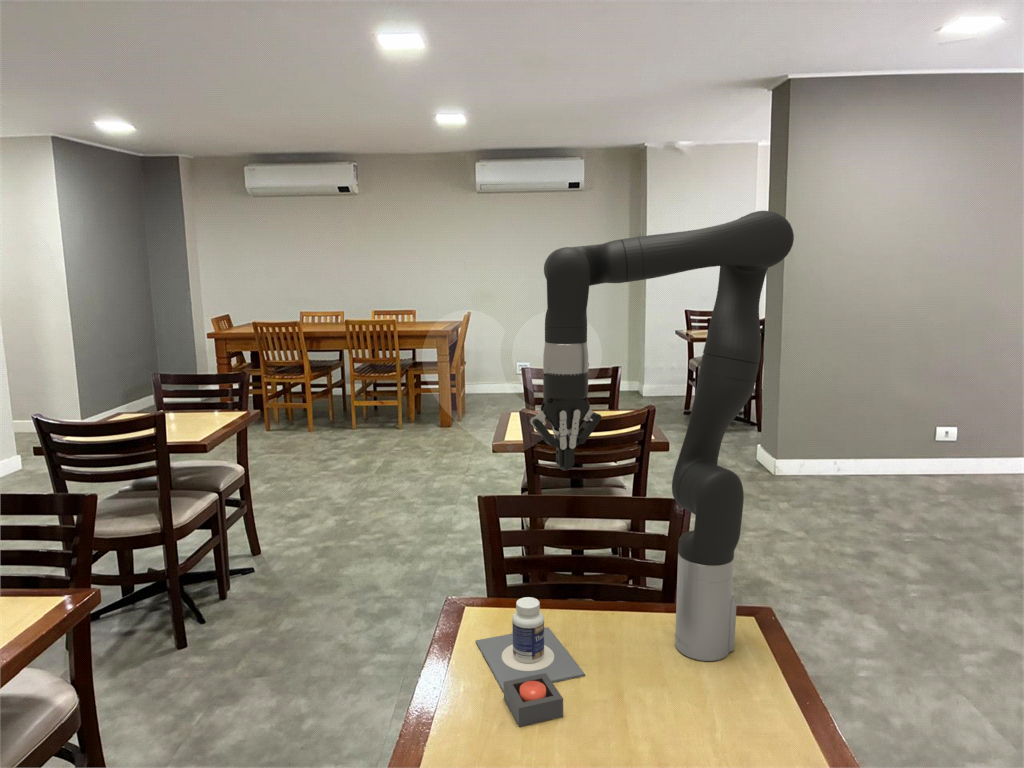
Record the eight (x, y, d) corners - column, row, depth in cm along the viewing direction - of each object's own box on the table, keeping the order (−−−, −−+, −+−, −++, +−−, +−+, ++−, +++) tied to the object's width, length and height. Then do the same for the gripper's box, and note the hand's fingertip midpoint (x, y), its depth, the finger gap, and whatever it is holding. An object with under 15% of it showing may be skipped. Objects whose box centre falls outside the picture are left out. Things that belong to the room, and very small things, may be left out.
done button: (540, 690, 109) (540, 678, 109) (549, 705, 105) (550, 693, 105) (516, 695, 108) (516, 683, 108) (525, 711, 104) (524, 698, 104)
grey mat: (548, 628, 130) (548, 626, 130) (584, 675, 115) (584, 673, 115) (475, 642, 125) (475, 639, 125) (503, 693, 111) (503, 690, 110)
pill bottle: (540, 666, 117) (539, 611, 115) (509, 661, 118) (508, 607, 117) (547, 649, 122) (547, 596, 120) (517, 645, 124) (516, 593, 122)
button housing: (545, 690, 111) (545, 672, 111) (563, 716, 105) (563, 698, 104) (503, 699, 109) (503, 681, 109) (518, 726, 102) (518, 708, 102)
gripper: (592, 363, 123) (590, 459, 126) (520, 368, 119) (521, 467, 122) (611, 369, 116) (609, 471, 119) (536, 374, 112) (536, 479, 115)
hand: (565, 468), depth 120 cm, fingers closed
